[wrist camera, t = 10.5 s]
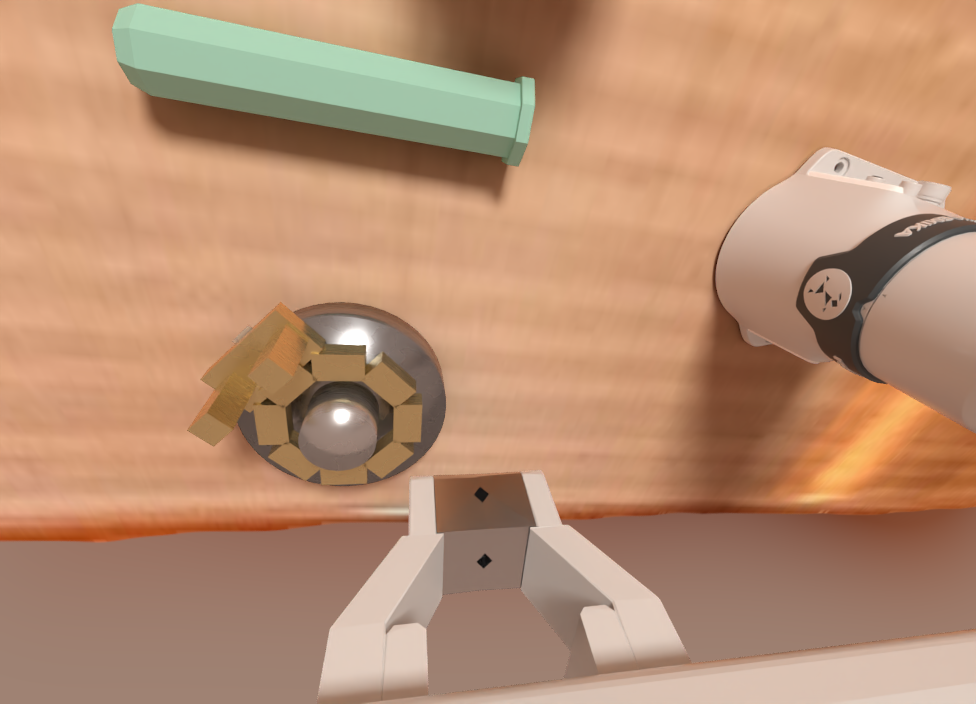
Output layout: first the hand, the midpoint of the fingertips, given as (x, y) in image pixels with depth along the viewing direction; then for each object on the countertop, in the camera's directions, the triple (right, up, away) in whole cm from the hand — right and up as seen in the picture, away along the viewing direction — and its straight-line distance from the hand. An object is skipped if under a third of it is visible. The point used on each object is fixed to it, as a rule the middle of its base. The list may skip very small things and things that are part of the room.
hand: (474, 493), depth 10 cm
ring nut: (-13, -1, +29) cm, 32 cm away
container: (-10, +22, +22) cm, 32 cm away
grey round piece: (-13, -1, +33) cm, 35 cm away
